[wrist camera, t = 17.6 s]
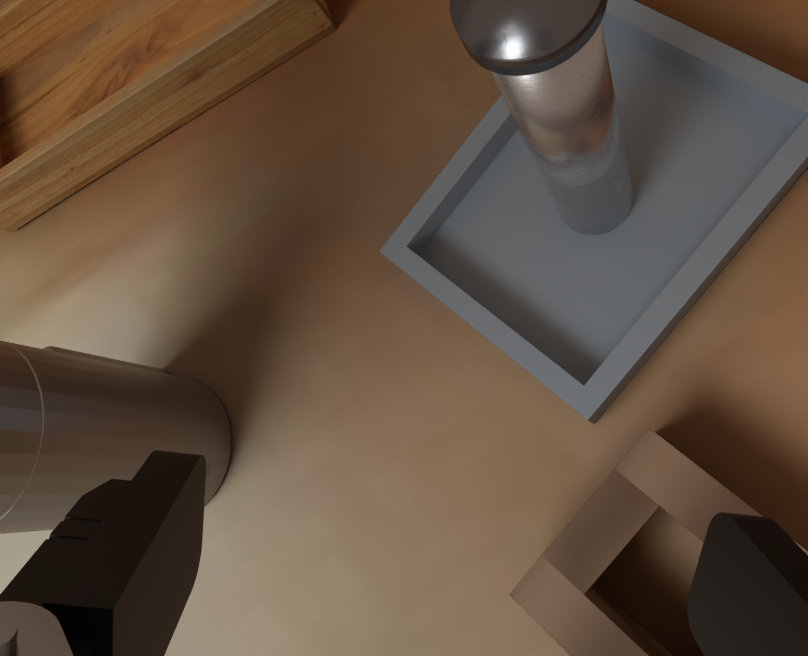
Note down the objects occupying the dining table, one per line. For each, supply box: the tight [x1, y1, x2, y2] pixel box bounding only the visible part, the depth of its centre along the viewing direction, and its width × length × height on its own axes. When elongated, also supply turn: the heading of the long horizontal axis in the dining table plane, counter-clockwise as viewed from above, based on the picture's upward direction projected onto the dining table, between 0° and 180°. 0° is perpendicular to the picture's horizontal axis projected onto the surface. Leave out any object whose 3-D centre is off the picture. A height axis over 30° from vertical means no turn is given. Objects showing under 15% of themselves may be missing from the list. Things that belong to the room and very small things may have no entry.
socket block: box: [509, 428, 808, 656], centre depth 31 cm, size 10×10×4 cm
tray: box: [0, 0, 337, 232], centre depth 52 cm, size 31×15×6 cm, turn 111°
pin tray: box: [379, 0, 808, 424], centre depth 37 cm, size 15×19×2 cm
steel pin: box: [450, 0, 634, 235], centre depth 30 cm, size 5×5×18 cm
